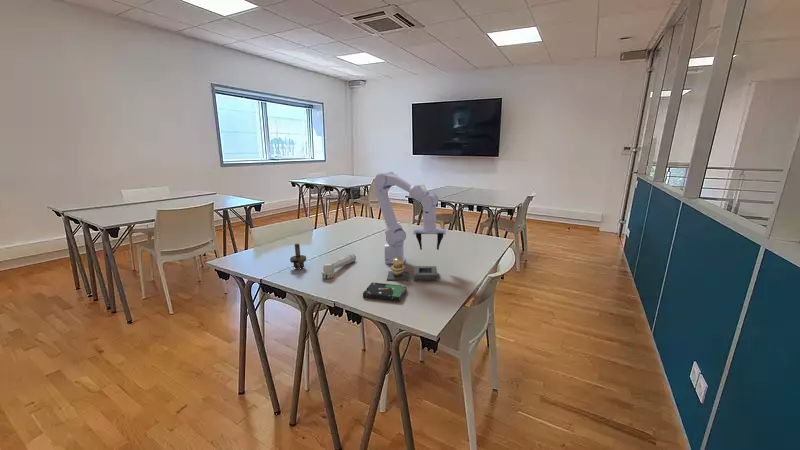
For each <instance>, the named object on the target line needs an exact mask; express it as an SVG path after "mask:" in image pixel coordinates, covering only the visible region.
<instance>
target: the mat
mask: <svg viewBox="0 0 800 450" xmlns="http://www.w3.org/2000/svg"><path fill="white" fill-rule="evenodd" d="M386 281H394V282H396V281H398V282H399V281H402V282H404V281H405V282H406V281H409V271H408V270H407V271H405V270H403V276H401V277H394V276H393V270H388V273H387V276H386Z"/></svg>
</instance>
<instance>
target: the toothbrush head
mask: <svg viewBox="0 0 800 450" xmlns="http://www.w3.org/2000/svg"><path fill="white" fill-rule="evenodd" d="M356 260H357V256H356V255H355V254H354V253H349V254H346V255H345V256H343V257H341V258H339V259H337V260H334V261H333V262H331V263H330V262H329V263H324V264H323V270H321V272H320V274H321V275H322V276H321V277H322V279H332V277H333V278H334V276H335V275H334V274H335V272H336V271H335V270H336V269H338V268H341V267H344V266H346V265H349V264H352V263H353V262H355V261H356Z"/></svg>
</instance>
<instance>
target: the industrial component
mask: <svg viewBox="0 0 800 450" xmlns="http://www.w3.org/2000/svg"><path fill="white" fill-rule="evenodd" d="M300 247H301V246H300V243H294V253H295V255H293V256H291V257H290V259H289V260H290V261H289V262H290V263H293V268H294V267H295V268H298V269H300V268H303V267H304V268H305V262H306V261H307V256H306V255H301V248H300ZM304 268H303V269H304ZM298 269H297V270H298ZM300 270H301V269H300Z"/></svg>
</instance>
